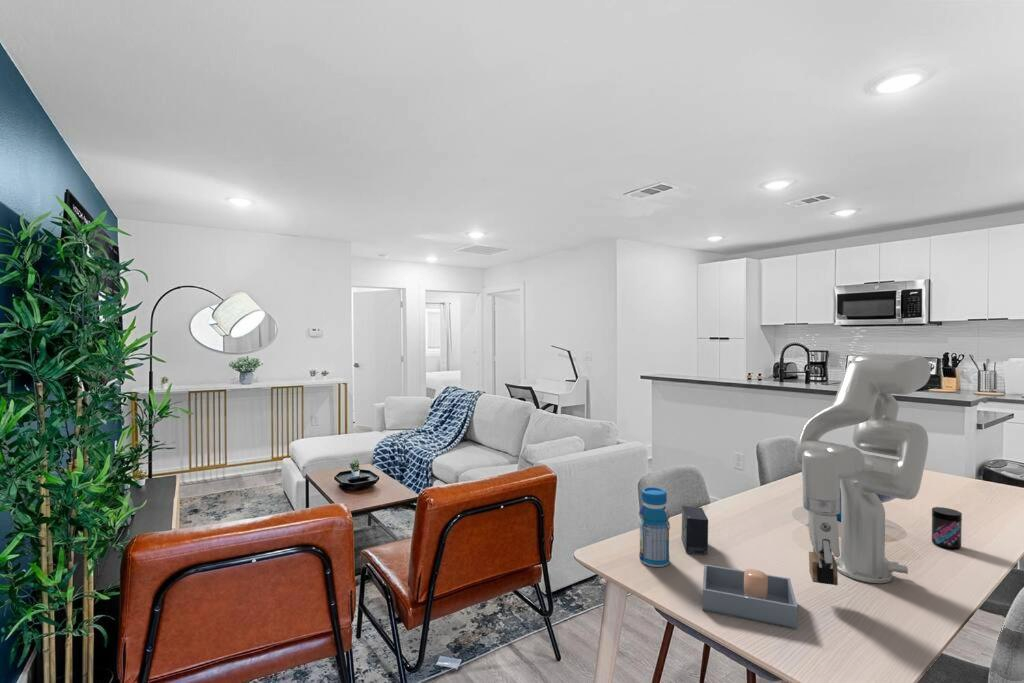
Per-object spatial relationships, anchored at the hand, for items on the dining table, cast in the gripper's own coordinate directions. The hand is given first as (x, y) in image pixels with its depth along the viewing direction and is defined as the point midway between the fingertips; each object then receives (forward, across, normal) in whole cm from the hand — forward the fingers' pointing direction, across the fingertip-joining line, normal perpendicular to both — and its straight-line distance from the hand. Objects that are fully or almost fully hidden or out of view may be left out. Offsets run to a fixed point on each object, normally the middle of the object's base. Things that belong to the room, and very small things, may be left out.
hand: (823, 575), depth 118 cm
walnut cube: (+1, 0, 0) cm, 1 cm away
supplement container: (+10, +47, -39) cm, 62 cm away
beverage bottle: (+5, +5, +40) cm, 41 cm away
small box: (+6, +19, +30) cm, 36 cm away
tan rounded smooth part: (+4, -9, +15) cm, 18 cm away
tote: (+5, -9, +17) cm, 20 cm away
